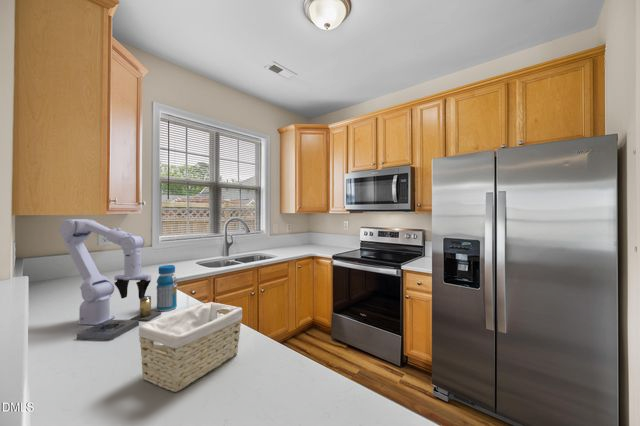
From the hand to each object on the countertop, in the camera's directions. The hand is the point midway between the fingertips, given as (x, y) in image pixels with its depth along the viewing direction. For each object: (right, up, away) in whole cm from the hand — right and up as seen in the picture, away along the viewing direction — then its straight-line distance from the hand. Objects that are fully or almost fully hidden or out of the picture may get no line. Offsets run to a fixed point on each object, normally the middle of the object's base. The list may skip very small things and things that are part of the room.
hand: (132, 297), depth 110 cm
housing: (-2, -10, -9) cm, 14 cm away
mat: (+2, -10, +5) cm, 11 cm away
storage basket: (+41, -10, -33) cm, 53 cm away
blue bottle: (+5, -10, +16) cm, 19 cm away
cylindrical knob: (+2, -9, +4) cm, 10 cm away
